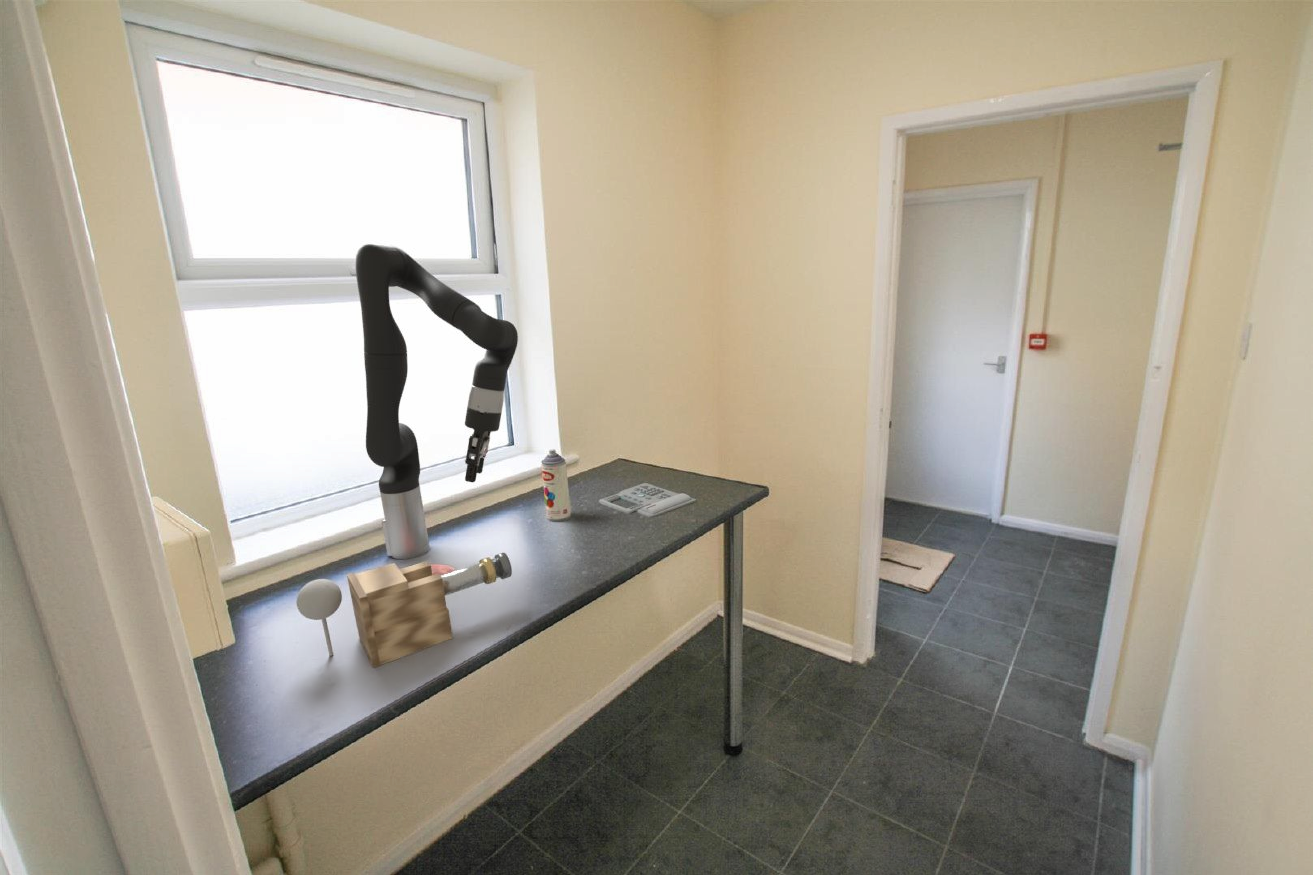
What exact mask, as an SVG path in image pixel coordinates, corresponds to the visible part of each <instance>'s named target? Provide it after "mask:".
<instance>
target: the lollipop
mask: <svg viewBox="0 0 1313 875" xmlns="http://www.w3.org/2000/svg"><path fill="white" fill-rule="evenodd" d="M342 597H343V596H342V590H341V588H340V587H339V585H338V584H337V583H336V582H334V581H332V580H330V579H328V578H318V579H317V578H316V579H314V580H311V581H309V582H307V583H306V584H304V586H302V588H301V589H300V590H299V592H298V594H297V597H296V607H297V610H298V612H299V613H300V614H301V615H302V616H303V617H305V618H306V619H309V620H314V621H319V620H321V623H322V626H323V631H324V636H325V640H326V641H325V642H326V645H327V652H328V656H329V657H332V655H333V656H334V650H333V646H332V641H331V637H330V636H331V635H330V632H329V628H328V622H327V618H329V617H331V616H332V615H333V614H335V613H336V612H337V610H338V609H339V608H340V606H341V603H342V601H343V600H342V599H343V598H342Z"/></svg>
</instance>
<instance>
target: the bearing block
mask: <svg viewBox="0 0 1313 875" xmlns="http://www.w3.org/2000/svg"><path fill="white" fill-rule="evenodd" d="M346 578H347V582H348V588H349V592H350V593H349V594H350V597H351V598H350V599H351V603H352V604H351V605H352V607H353V614H354V617H355V623H356V629H357V634H358V638H359V641H360V643H361V645H362V647H363V650H364V649H365V650H364V652H365V654H366V656H367V658H368V660H369V662H370V664H371V666H373V667H372V668H376V666H377V667H379V666H382V665H385V664H387V663H389V662H392V661H395V660H398V659H401V658H403V657H406V656H408V655H411V654H414V653H417V652H419V651H421V650H424V649H428V648H429V647H433V646H435V645H438V644H441V643H444V642H446V641H449V640H451V639H453V638H454V636H453V629H452V623H451V622H452V621H451V616H450V610H449V607H448V606H447V601H446V595H445V593H444V587H443V580H442V577H441V576H440V575H439V574H435V575H432V570H431V564H430V563H429V562H428V560H426V561H423V562H419V563H417V564H413V565H410V566H409V565H408V566H405V567H402V568H399V567H398V566H397V565H396V563H394V562H393V563H389V564H386V565H382V566H378V567H375V568H373V569H369V570H365V571H362V572H359V573H355V572H354V571H353V572H350V573H347V574H346Z"/></svg>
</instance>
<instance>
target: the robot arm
mask: <svg viewBox="0 0 1313 875" xmlns="http://www.w3.org/2000/svg"><path fill="white" fill-rule="evenodd" d="M354 269H355V270H354V271H355V278H356V283H357V290H358V297H359V303H360V310H361V319H362V320H361V321H362V331H363V332H362V333H363V355H364V356H363V358H364V371H365V385H366V386H365V387H366V404H367V405H366V406H367V407H366V409H367V413H366V431H365V450H366V453H367V456H368V458H369V459H370V460H371V461H372V462H373V463H374V464H375V465H377V466H378V467H382V468H383V470H382V473H381V476H380V478H379V480H378V488H379V489H378V490H379V492H380V498H381V504H382V509H383V516H384V519H383V520H381V526H382V531H383V536H384V537H383V538H384V544H385V548H386V554H387V557H391V558H393V559H397V560H407V559H412V558H416V557H418V556H421V555H423V554H425V553H427V552H428V551H429V549H430V544H429V543H430V541H429V536H428V530H427V523H426V518H425V517H426V516H425V510H424V506H423V499H422V493H421V486H420V479H419V478H420V474H421V464H420V453H419V447H418V440H417V438H416V434H415V433H414V431H413V429H411V427H409V426H408V425H406V424H405V423H402V422H400V417H399V411H400V404H401V400H402V396H403V392H404V390H405V386H406V383H407V378H408V369H409V368H408V367H409V366H408V347H407V344H406V340H405V337H404V335H403V332H401V329H400V328H399V326H398V324H397V322H396V320H395V318H394V316H393V313H392V309H391V305H390V304H391V303H390V290H389V289H390V287H391V288H393V287H394V288H395V287H398V288H400V289H402V290H406V291H408V292H410V293H412V294H414V295H416V296H417V297H418V298H420V299H421V300H422V301H423V302H424V304H426V306H427V307H428V308H429V309H430V311H431V312H432V313H433V314H434V315H436V316H437V317H438V318H439V319H441V320H442V321H444V322H446V323H447V324H448V325H450V326H452V327H453V328H454V329H457V330H459V331H460V332H462V333H463V334H464V335H465V337H467V339H469V340H470V341H472V342H473V344H475V345H477V346H478V347H480V348H482V349H484V350H486V351H485V354H484V356H483V358H482V359H481V360H479V361H478V362H476V364H475V367H474V370H473V371H474V372H473V377H472V383H471V388H470V392H469V395H468V401H467V408H466V413H465V421H464V425H465V426H466V428H469V429H472V430H473V433H472V434H471V435H470V436H469V437H468V446H467V451H466V457H465V460H464V462H465V464H466V470H465V471H466V472H465V477H464V481H466V482H467V483H468V482H469V483H475V482H476V480H477V474H482V473H483V468H484V463H485V458H486V457H487V453H488V452H489V444H490V440H491V433H493V432H497V431H499V429H500V425H501V420H502V413H503V406H504V399H505V387H506V383H507V376H508V375H507V374H508V370H509V368H510V366H511V364H512V361H513V358H514V356H515V354H516V350H517V349H518V348H517V347H518V340H519V336H518V330H517V327H516V326H515V325H514V323H512V322H511V321H508V320H505V319H499V318H496V317H494V316H493V317H492V316H491V315H489V314H487V313H486V312H485V311H483V310H482V308H481V307H480V306H479V305H478V304H477V303H476V302H474V301H473V300H471V299H470V298H468V297H466V296H465V295H463V294H461V293H460V292H458V291H456V290H454V289H453V288H451V287H450V286H448V285H446V284H445V283H444V282H442V281H441V280H439V279H438V278H436V277H435V276H434V275H433V274H432V273H430V271H428V270H427V269H425V268H424V267H423V266H422V265H421V264H419V262H417V261H416V260H415V259H414V258H413V257H412V256H410V254H408V253H407V252H406V251H404V250H403V249H402V248H400V247H398V246H394V245H391V244H390V245H389V244H380V243H365V244H362V245H361V246H360V247H359V248H358V250H357V251H356V253H355V258H354ZM472 457H474V458H472Z"/></svg>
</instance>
